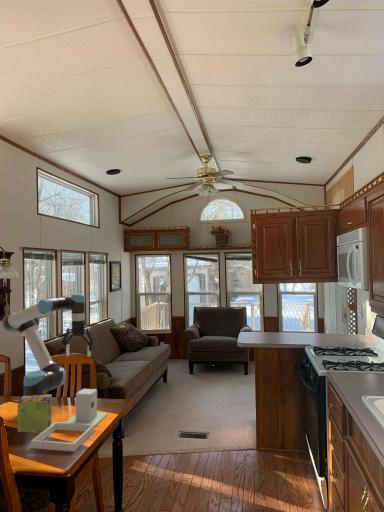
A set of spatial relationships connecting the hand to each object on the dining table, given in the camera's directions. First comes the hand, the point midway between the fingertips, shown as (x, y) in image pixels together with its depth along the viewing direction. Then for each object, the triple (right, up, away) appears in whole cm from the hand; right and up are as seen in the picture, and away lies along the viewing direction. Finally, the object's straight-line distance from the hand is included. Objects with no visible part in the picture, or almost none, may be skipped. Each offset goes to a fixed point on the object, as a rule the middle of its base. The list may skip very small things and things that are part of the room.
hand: (78, 356), depth 229 cm
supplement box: (+9, -32, -13) cm, 35 cm away
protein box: (-17, -33, -22) cm, 43 cm away
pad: (+8, -32, -13) cm, 36 cm away
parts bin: (+4, -32, -37) cm, 49 cm away
